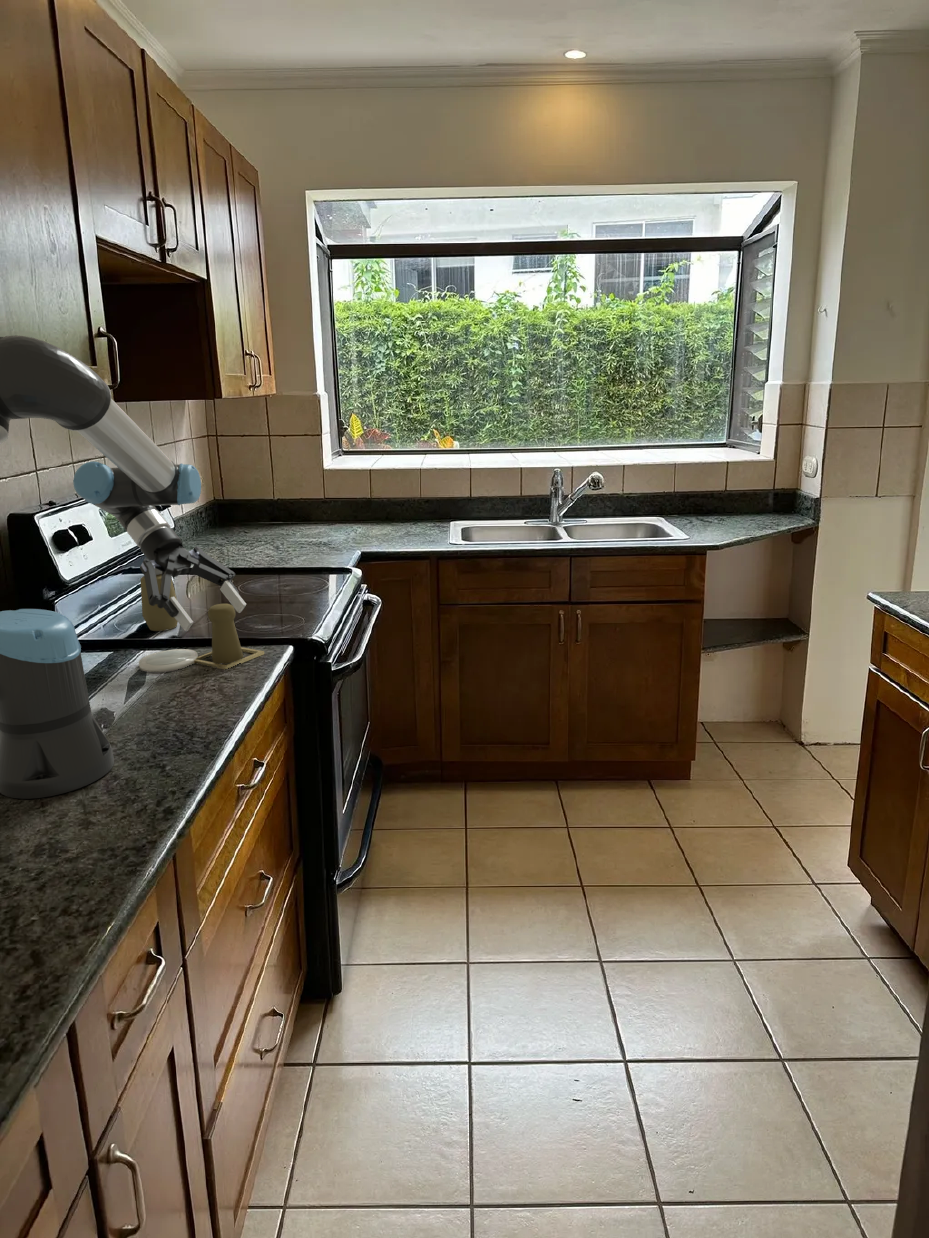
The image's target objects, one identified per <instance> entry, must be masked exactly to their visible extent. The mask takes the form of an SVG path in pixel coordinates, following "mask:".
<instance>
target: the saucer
mask: <svg viewBox="0 0 929 1238" xmlns="http://www.w3.org/2000/svg"><path fill="white" fill-rule="evenodd" d="M197 657H199V655H198V652H197V651H196V650H194V649H188V648H186V649H184V648H178V649H175V648H174V649H168V650H160V651H157V652H154V653H150V654H148V655H146V656H143V657H142V658H140V659H139V661H138V666H139V670H140V671H143V672H146V673H156V674H157V673H168V672H173V671H178V669H179V670H181V669H182V668H183V669H185V667H186V668H188V667H190V666H189V665H191V666H193V665H194V664H195V662H194V660H195V659H197ZM192 664H193V665H192ZM187 666H188V667H187ZM183 669H182V670H183Z"/></svg>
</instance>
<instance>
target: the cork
mask: <svg viewBox="0 0 929 1238" xmlns="http://www.w3.org/2000/svg"><path fill="white" fill-rule="evenodd" d="M236 614H237V613H236V610H235V608H234V607H233V606H232V604H231V603H217V604H214V605H211V606H210V607H209V608H208V610H207V616H208V620H209V621H210V622H211V652H212V656H211V662H213V663H218V664H221V663H223V664H230V663H232V662H234V661H237V660H240V659H241V658H244V657H243V656H244V654H243V653H244V652H242V649H241V647H242V646H241V642H240V640H239V636H238V632H237V628H236V625H235V621H234V620H235V618H236Z"/></svg>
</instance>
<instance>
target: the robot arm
mask: <svg viewBox="0 0 929 1238" xmlns="http://www.w3.org/2000/svg"><path fill="white" fill-rule="evenodd" d="M34 418H35V419H44V420H51V421H53V422H55V423H57V424H58V425H59V426H60V427H62V428H63V429H65V430H68V431H72V432H77V433H78V434H79V435H80V436H81V437H82V438H84V439H85V440H86V441H87V442H88V443H90V444H91V446H93V447H94V448H95V449H96V450H97V451H99V452H100V453H101V454H102V455H103V456H104V457H105V458H107V459H108V460H109V461H110V462H111V463H113V465H114V466H116V467H110V466H108V465H107V464H104V463H102V462H99V461H88V462H85V463H83V464H82V465H80V467H78V468H77V469H76V471H75V473H74V475H73V480H72V481H73V482H72V484H73V488H74V491H75V493H77V495H78V496H79V497H81V498H82V499H84V501H85V502H87V503H89V504H91V505H93V506H95V507H97V508H99V509H101V510H103V511H105V512H106V513H108V514H109V515H112V516H113V517H114V518H116V519H117V521H118V522H119V524H120V525H121V526H122V528H123V529H125V531H126V532H127V534H128V535H129V537H130V538H131V539H132V541H133V542H134V543H135V544H136V546H137V547H139V549H140V551H141V552H142V554H143V555H144V556H145V558H144V559H143V561H142V563H141V564H140V566H139V569H140V571H141V573H142V574H143V576H144V577H145V583H146V589H147V595H148V601H149V604H150V605H151V606H154V605H155V604H158V605H157V606H158V607H159V608H163V607H164V609H165V610H166V611H167V613H168V614H169V615H170V616H171V617H174V618H175V619H176V620H177V621H178V623H177V624H179V625H180V627H181V628H182V630H183V631H184V632H188V631H189V630H190V628H191V627H192V625H193V624H194V620H192V618H191V616H190V615H189V614H188V613H187V611H185V609H184V608H183V606H182V605H181V604H180V602H179V601H178V599H177V600H176V598H177V597H176V598H175V597H171V598H170V599H169V595H170V587H171V579H172V578H177V577H178V576H180V575H183V576H184V575H187V574H188V575H190V576H193V575H195V576H197V577H200V578H202V579H204V580H206V581H208V582H210V583H213V584H215V585H217V586H220V588H219V591H221V593H222V594H223V596H224V597H225V598H226V600H228V602H229V604H230V605H232V606H233V607H234V609H235V612H237V614H240V613H242V612H243V610H244V609H245V607H246V605H247V603H246V602H245V600H244V599H243V598H242V596H241V595H240V594H239V593H240V592H239V590H238V588H237V587H236V586H235V584H234V583H233V582H232V580H233V579H234V577H235V576H236V573H235V572H234V571H233V570H231V569H230V568H228V567H227V566H225V565H224V564H222V563H220V562H219V561H217V560H216V559H215V558H214V557H212V556H210V555H209V554H207V553H206V552H205V551H204V550H203V549H202V548H201V546H198V545H195V546H194V547H193V549H191V550H187V549H186V548H185V547H184V545H183V541H182V539H181V538H180V537H179V536H178V534H177V532H175V530H174V529H173V528H172V527H171V525H170V524H169V522H168V521H167V519H165V517H164V516H163V515H162V513H160V511H159V510H158V509H157V507H156V506H181V505H188V504H194V503H196V502H198V500H199V499H200V497H201V494H202V493H201V491H202V481H201V480H202V479H201V476H200V473H199V471H198V469H197V468H196V467H195V466H194V465H192V464H185V463H179V464H175V463H174V462H173V461H172V460H171V459H170V458H169V457H168V456H167V455H166V453H164V452H163V451H162V449H161V448H160V447H159V446H158V445H157V444H156V443H155V442H154V441H153V440H152V439H151V437H149V436H148V435H147V434H146V433H145V432H144V431H143V430H142V429H141V428H140V427H139V426H138V424H137V423H136V422H135V421H134V420H133V419H132V418H131V417H130V416H129V415H128V414H127V413H126V412H125V411H124V410H123V409H122V408H121V407H120V406H119V405H118V404H117V402H115V400H113V399H112V392H111V389H110V387H109V386H108V384H107V383H106V382H105V381H104V379H102V377H100V375H99V374H98V373H97V372H95V371H94V370H93V369H92V368H91V367H89V365H87V364H86V363H85V362H83V361H82V360H80V359H79V358H77V357H76V356H74V355H72V354H71V353H69V352H67V351H65V350H63V349H61V348H60V347H58V346H56V345H53V344H51V343H49V342H47V341H44V340H41V339H39V338H35V337H32V336H26V335H25V336H24V335H17V334H16V335H14V334H13V335H6V336H0V445H1V444H4V443H5V442H6V441H7V440H8V438H9V432H10V431H9V430H10V421H11V420H21V419H22V420H23V419H24V420H25V419H34ZM155 568H156V569H158V570H160V571H162V576H161V580H162V581H161V589H160V595H159V590H158V584H157V579H156V573H155ZM75 628H76V627H75V625H74V623H73V622H72V620H70V619H69V618H68V616H66V615H64V614H62V613H61V612H57V611H52V610H47V609H41V608H19V609H16V610H13V609H12V610H11V609H9V610H2V611H0V794H1V795H3V796H5V797H8V798H11V799H13V798H14V799H24V800H25V799H29V800H31V799H42V798H49V797H54V796H57V795H61V794H65V793H69V792H73V791H75V790H79V789H81V788H83V787H86V786H88V785H90V784H92V783H94V782H96V781H97V780H100V779H101V778H103V777H104V776H106V775H107V774H108V773H109V772H110V771H111V770H112V768H113V767H114V765H115V758H114V753H113V752H114V751H113V747H112V746H111V743H110V741H109V739H108V738H107V736H106V734H105V733H104V732H103V730H102V728H101V726H100V725H99V723H98V722H97V720H96V718H95V717H94V715H93V712H92V707H91V703H90V698H89V693H88V692H89V691H88V686H87V681H86V676H85V671H84V665H83V659H82V653H81V650H82V649H81V648H82V645H81V644H80V641H79V638H78V635H77V631H76V629H75Z"/></svg>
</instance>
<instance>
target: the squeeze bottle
mask: <svg viewBox="0 0 929 1238" xmlns="http://www.w3.org/2000/svg"><path fill="white" fill-rule="evenodd" d="M155 573H156V579H157V584H158V590H159V595H160V589H161V581H162V580H161V576H162V571H160V570H158V569H156V568H155ZM173 583H174V582H173V580H172V579H171V587H170V595H169V599H170V598H171V597H175V598H176V600H177V601H178V598H177V594H176V590H175V587H174V584H173ZM140 591H141V592H140V594H141V595H140V596H141V597H140V598H141V612H142V613H141V614H142V617H143V620H144V621H145V623H146V625H147V627H148V629H149V630H150V631H153V632H161V631H162V632H163V631H168V630H173V629H174V628H177V626H178V624H179V623H178V621H177V620H176V619H175V618H174V617H171V616H170V615H169V614H168V613H167V611H166V610H165V609H164V607H163V608H159V607H158V606H157V605H158V604H155V605H154V606H151V605H150V604H149V601H148V595H147V589H146V583H145V577H144V575H143V576H142V577H141V578H140Z"/></svg>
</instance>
